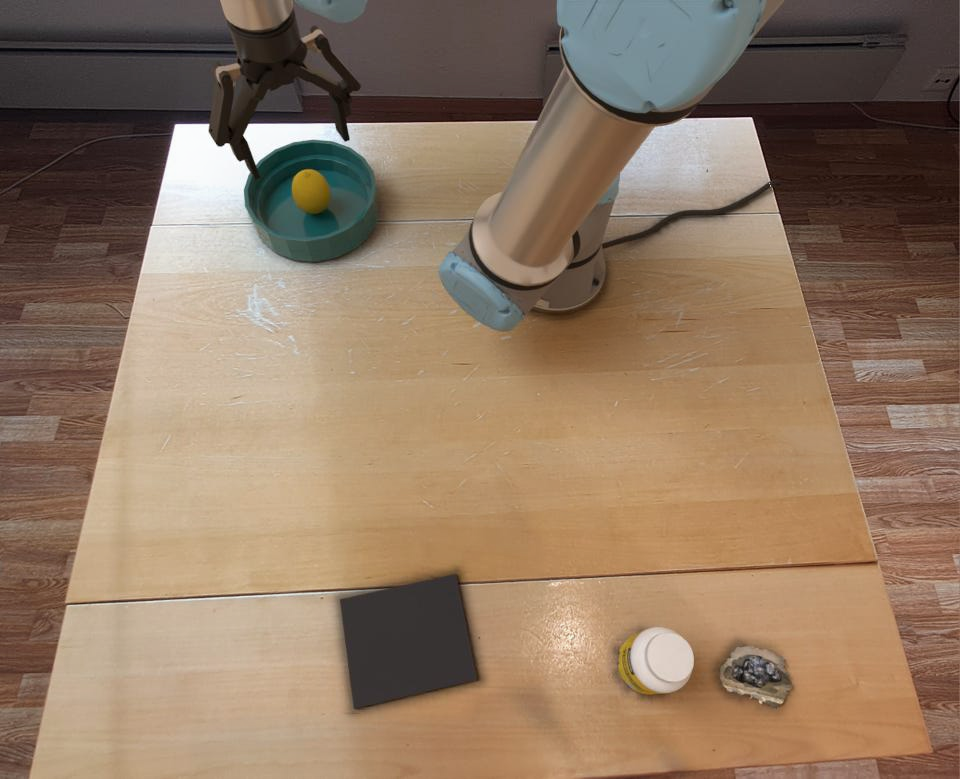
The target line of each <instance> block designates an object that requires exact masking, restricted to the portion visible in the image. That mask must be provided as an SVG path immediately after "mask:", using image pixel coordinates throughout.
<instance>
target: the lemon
mask: <svg viewBox="0 0 960 779" xmlns="http://www.w3.org/2000/svg"><path fill="white" fill-rule="evenodd" d="M292 195H293V198H294V201H295V203H296V204H297V206H298V207H299V208H300V209H301V210H303V211H304V212H306V213H309V214H318V213H321V212H322V211H324V210H325V209H326V208H327V207H328V205H329V203H330V197H331V193H330V188H329V185H328V183H327V181H326V179H325V178H324V177H323V176H322V175H321V174H320V173H319V172H317V171H315V170H311V169H306V170H302V171H300V172H299V173H298V174H296V176H295V177H294V179H293V182H292Z"/></svg>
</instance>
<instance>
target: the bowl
mask: <svg viewBox="0 0 960 779" xmlns="http://www.w3.org/2000/svg"><path fill="white" fill-rule="evenodd" d="M255 164H256V167H257V170H258V172H259V175H260V178H259V179H257V180H255V179H254V177H253V176H252V174H251V172H250V171H249V173H248V176H247V178H246V182H245V185H244V188H243V198H244V207H245V209H246V212H247V214H248V217H249V219H250V221H251V223H252V226H253V228H254V231H255V232H256V233H257V236H258V237H259V239H260V241H261V242H262V244H264V245H265V246H267V248H269V249H270V250H271V251H273V252H274V253H275V254H277V255H280V256H281V257H285V258H287V259H291V260H293V261H301V262H312V263H314V262H321V261H326V260H333V259H337V258H338V257H341V256H343V255H345V254H347V253H350V252H352V251H354V250H356V248H358V247H359V246H360V245H361V244H363V243H364V242H365V241H366V240H367V239H368V238H369V237H370V235H371V234H372V232H373V230H374V228H375V227H376V226H377V223H378V218H379V214H380V208H381V207H380V201H379V195H378V189H377V183H376V178H375V173H374V170H373V169H372V167H371V166H370V164H369V162H368V161H367V160H366V158H365V157H364V156H362V155H361V154H360V153H359V152H357V151H356V150H354V149H353V148H352V147H350V146H347V145H345V144H342V143H339V142H336V141H334V140H325V139H324V140H323V139H308V140H306V139H305V140H301V141H300V140H299V141H293V142H290V143H288V144H286V145H282V146H280V147H278V148H275V149H273V150H272V151H271V152H270V153H268V154H266V155H265V156H263V157H262V158H261V159H260V160H259V161H257V163H255ZM306 169H311V170H315V171H317V172H319V173H320V174H321V175H322V176H323V177H324V178H325V179H326V181H327V183H328V185H329V188H330V193H331V197H330V203H329V205H328V207H327V208H326V209H325V210H324V211H322V212H321V213H318V214H309V213H306V212H304V211H303V210H301V209H300V208H299V207H298V206H297V204H296V203H295V201H294V198H293V195H292V182H293V179H294V177H295V176H296V174H298V173H299V172H300V171H302V170H306Z"/></svg>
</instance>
